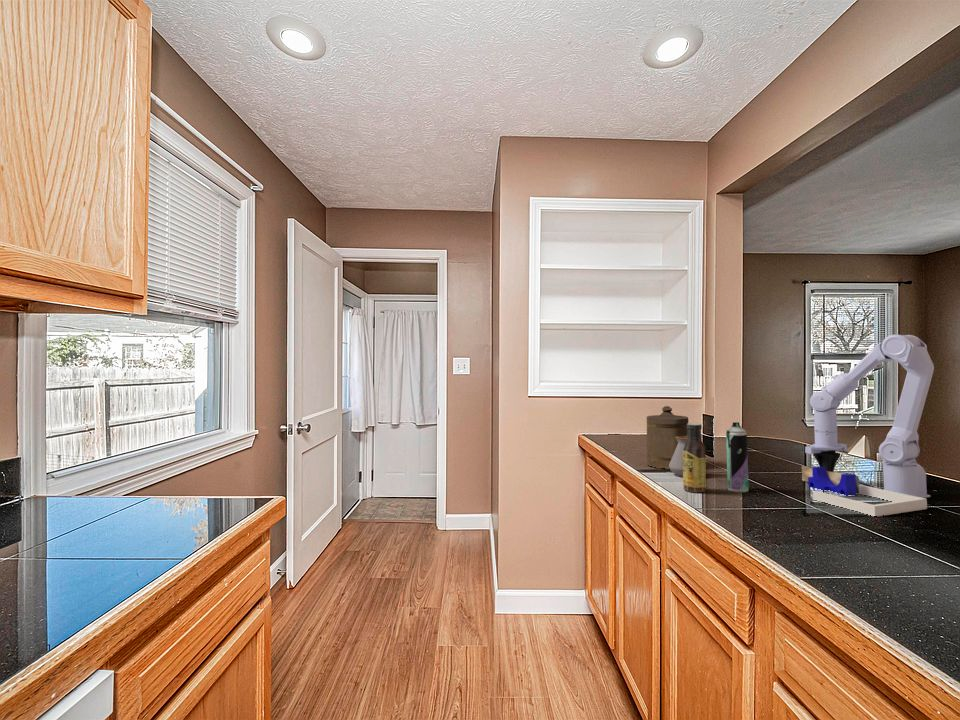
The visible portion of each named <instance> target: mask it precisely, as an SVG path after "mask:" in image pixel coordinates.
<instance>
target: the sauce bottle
mask: <svg viewBox="0 0 960 720" xmlns="http://www.w3.org/2000/svg"><path fill="white" fill-rule="evenodd" d="M706 460H707V456H706V446H705V445H704V442H703V441H702V423H698V422H697V423H696V422H688V424H687V440H686V443H685V446H684V449H683V477H682V483H683V489H684V490H685V491H686V492H689V493H704V492H706V490H707V489H706V486H707V478H706V477H707V475H706V474H707V471H706V470H707V469H706V468H707V462H706Z"/></svg>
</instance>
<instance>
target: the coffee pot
mask: <svg viewBox="0 0 960 720" xmlns="http://www.w3.org/2000/svg"><path fill="white" fill-rule="evenodd" d="M675 438H676V440H677V441H678V445H677V447H676V449H675V452H674V454H673V457H672V459H671V461H670V464H669V468H670V471H671V473H673V474H674V476H676V475H677V476H676V477H680V476H681V477H680V478H683V449H684V446H685V443H686V440H687V436H677V437H675Z"/></svg>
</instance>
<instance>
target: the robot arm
mask: <svg viewBox="0 0 960 720" xmlns="http://www.w3.org/2000/svg"><path fill="white" fill-rule="evenodd" d="M888 361H894V362H895V361H896V362H898V364H899V365H901V367H903V369H904V370H906V376H905V379H904V384H903V387H902V390H901V393H900V397H899V401H898V404H897V405H898V406H897V409H896V412H895V416H894V420H893V424H892V427H891V428H890V430H889V431H888V433H887V434H886V438H885V439H884V441H883V442H882V443H880V445H879V447H878V454H879V456H880V458H881V459H882V474H883V490H887V491H892V492H897V493H902V494H906V495H911V496H916V497H921V498H925V499H927V498H930V497H931V495H930V494H928V492H927V491H928V490H927V472H926V471H925V469H924V467H923V466H922V465H920V463H918V462H917V460H916V458H917V457H919V454H920V452H921V450H920V446H919V438H920V436H919V432H918V428H919V425H920V421H921V417H922V414H923V411H924V407H925V403H926V400H927V397H928V393H929V390H930V387H931V386H930V385H931V381H932V377H933V374H934V371H935V366H934V362H933V361H932V359H931V357H930V354H929V352H928V345H927V344H926V343H925V342H923V340H921V338H919V337H918V336H915V335H913V334H905V335H904V334H890V335H888V336H886V337H885V338H884V339H883V340H882V341H880V342H879V343H877V344H876V345H875V346H874V347H873V348H872V349H871V350H870V351H869V352H868V353H867V354H866V355H865V356H864V357H863V358H862V359H861V360H860V361H858V363H857V364H855V366H854V367H853V368H852V369H851V370H849V372H847V373H843V372H841V373H839V374H835V375H834V376H833V377H832V380H831V381H830V382H829V383H828V384H827V385H826V386H822V387H820V390H821V391H816V392H813V393H812V395H811V396H810V398H809V403H810V406H811V408H812V409H813V424H814V425H813V426H814V427H813V428H814V443H813V444H812V445H809V446H805V447H804V449H805V451H804V452H805V454H808V455H813V457H814V458H815V459H816V461H817V463H818V467H821V466H822V467H825V469H826V471H830V472H834V469H835V468H836V465H837V462H838V460H839V459H840V457H841V453H840V451H841V452H847V451H848V445H847V444H845V443H838V422H837V421H838V420H837V419H838V418H837V417H838V416H837V409H838V408H839V406H840V405H841V402H842V401H844V400H845V399H846V398H847V397H848V396H849V395H850V394H852V393H853V392H854V391H855V390H856V389H858V388H859V381H860V380H861V379H862V378H864V377H865V376H866V375H867V374H869V373H871V371H873V370H874V369H876V368H878V366H880V365H881V364H882V363H885V362H888Z"/></svg>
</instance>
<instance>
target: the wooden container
mask: <svg viewBox="0 0 960 720" xmlns="http://www.w3.org/2000/svg"><path fill="white" fill-rule="evenodd" d="M661 411H662V413H660V414H655V415H647V416H646V462H647V463H646V464H647V466H648V465H649V466H648V467H650V466H652V467H651V468H653V467H656V468H655V469H658V468H665V469H664V470H669V469H670V468H669V464H670V461H671V459H672V457H673V454H674V452H675V449H676V447H677V445H678V441H677V440H676V438H675V437H677V436H687V424H688V423H689V417H688V416H685V415H675V414H674V413H673V412H672V411H673V408H672V407H670V406H669V405H668V406H665V405H664V406H663V407H662V410H661Z"/></svg>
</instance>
